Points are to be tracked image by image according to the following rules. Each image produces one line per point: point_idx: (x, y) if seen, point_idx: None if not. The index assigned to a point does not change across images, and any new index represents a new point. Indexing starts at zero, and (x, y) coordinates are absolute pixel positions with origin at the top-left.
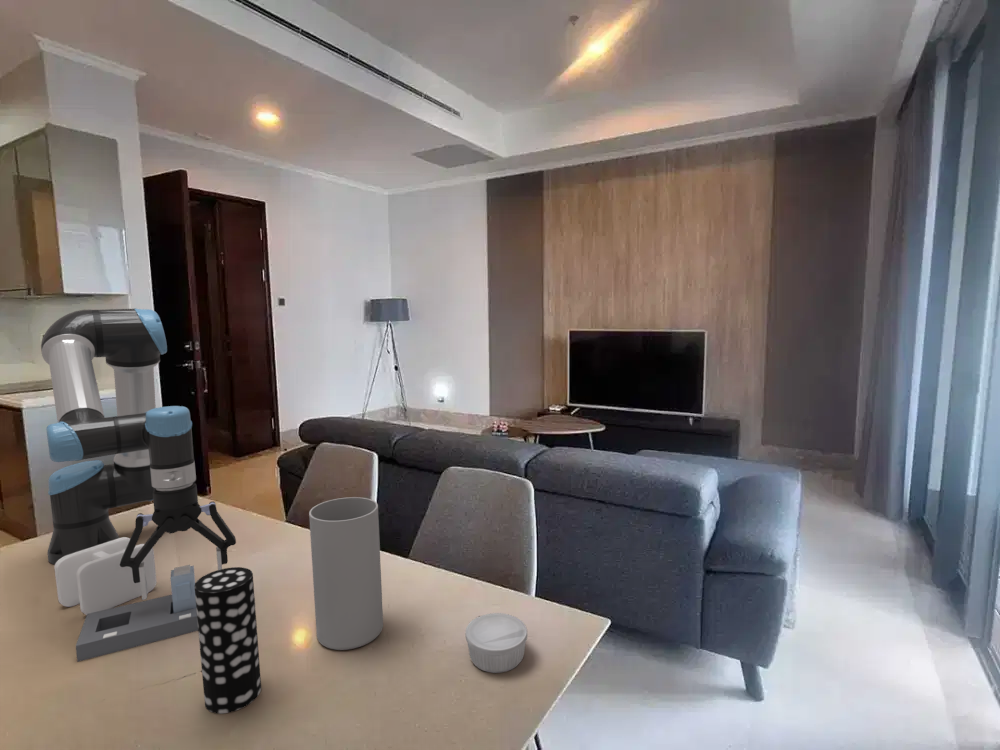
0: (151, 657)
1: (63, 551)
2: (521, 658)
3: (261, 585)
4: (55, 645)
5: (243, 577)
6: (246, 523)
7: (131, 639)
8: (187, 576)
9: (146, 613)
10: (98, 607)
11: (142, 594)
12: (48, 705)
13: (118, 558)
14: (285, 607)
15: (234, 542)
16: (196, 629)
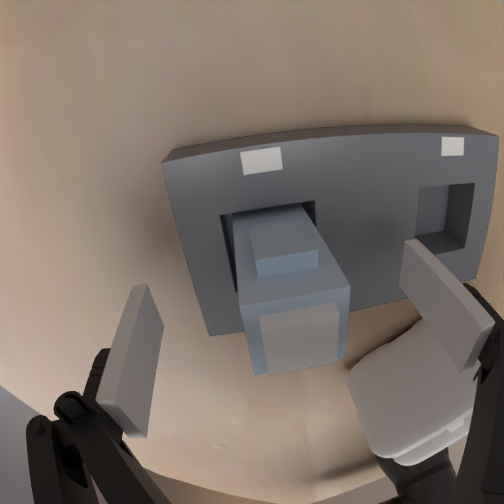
0: (332, 59)
1: None
2: None
3: (109, 333)
4: (491, 224)
5: None
6: (216, 482)
7: (399, 129)
8: (269, 295)
9: (380, 232)
10: None
11: (425, 249)
12: (474, 8)
13: (445, 414)
14: (18, 210)
15: (31, 425)
16: (224, 142)
